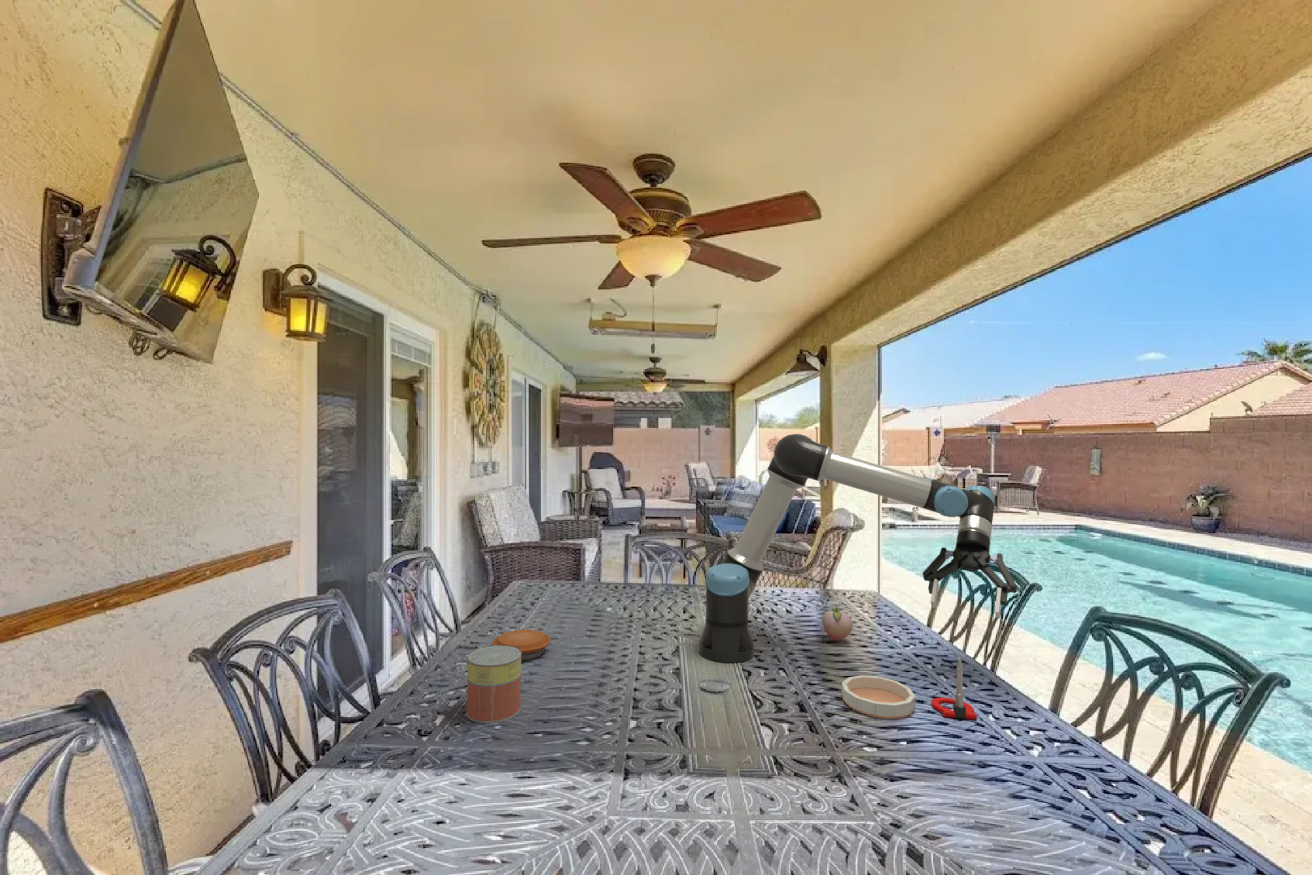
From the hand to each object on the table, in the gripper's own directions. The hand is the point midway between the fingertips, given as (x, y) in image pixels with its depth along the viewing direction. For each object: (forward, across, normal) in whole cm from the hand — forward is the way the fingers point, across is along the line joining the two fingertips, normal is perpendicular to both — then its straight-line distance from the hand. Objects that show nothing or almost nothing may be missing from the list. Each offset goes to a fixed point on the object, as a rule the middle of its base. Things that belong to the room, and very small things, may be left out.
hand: (964, 609), depth 136 cm
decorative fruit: (+2, +36, -25) cm, 44 cm away
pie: (+47, +100, +21) cm, 113 cm away
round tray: (+27, +15, -1) cm, 31 cm away
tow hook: (+22, +1, -6) cm, 23 cm away
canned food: (+65, +80, +39) cm, 110 cm away
